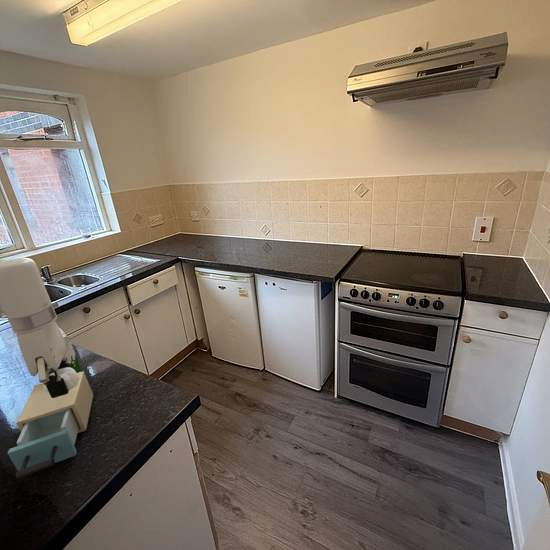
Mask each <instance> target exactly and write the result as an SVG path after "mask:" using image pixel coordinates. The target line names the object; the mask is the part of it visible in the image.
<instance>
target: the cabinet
mask: <svg viewBox="0 0 550 550" xmlns="http://www.w3.org/2000/svg"><path fill="white" fill-rule="evenodd" d="M77 374H78V376H79V382H78V384H77V385H76V386H75V387H74V388H72V389H71V390H69V392H68V394H66V395H62V396H59V397H56V398H51V396H50V394H49V393H47V392H45V391H44V390H43V385H44V383H39V384H35V385H33V388H32V390H31V392H30V394H29V396H28V398H27V400H26V402H25V404H24V407H23V409H22V410H21V412H20V414H19V416H18V418H17V421H16V423H15V424H16V425H17V427H18V428H19V430H20V433H21V432H22V430H23V428H24V425H25V423H26V422H29V421H32V420H35V419H39V418H42V417H45V416H48V415H51V414H54V413H57V412H60V411H63V410H66V409H69V408H72V409H73V411H74V414H75V416H76V418H77V420H78V423H79V428H78V433H77V434H80V433H82V432H85V431H87V428H88V423H89V417H90V414H91V413H90V412H91V409H92V408H91V407H92V404H93V399H94V393H93V390H92V388H91V386H90V383H89V380H88V378H87V377H86V373H85V371H84V370H82V372H79V373H77Z"/></svg>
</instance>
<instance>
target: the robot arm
mask: <svg viewBox="0 0 550 550" xmlns="http://www.w3.org/2000/svg"><path fill="white" fill-rule="evenodd" d="M0 306H1V308H2V310H3V313H4V315H5V317H6V319H7V322H8V323H9V326H10V327H11V330H12V332H13V333H14V334H16V339H17V343H18V347H19V350H20V353H21V355H22V358H23V361H24V364H25V367H26V369H27V370H28V373H29V375H30V376H31V377H36V376H38V382H39V384H42V383H44V385H45V386H46V387H47V389H48V391H49V394H50V396H51V398H56V397H59V396H62V395H66V394H68V392H69V390H68V388H67V386H66V383H65V381H64V379H63V378H61V377H60V373H59V369H62V368H66V367H68V368H70V365H69V363H67V362H68V360H67V357H66V356H65V354H64V353H65V350H66V345H65V341H64V339H63V336H62V334H61V332H60V329H61V328H60V327H59V326H58V323H57V322H56V320H57V319H58V315H57V313H56V311H55V307H54V306H53V302H52V300H51V298H50V295H49V293H48V291H47V288H46V286H45V283H44V280H43V278H42V275H41V272H40V270H39V268H38V265H37V263H36V262H35V261H34V260H33V259H31V258H29V257H17V258H16V257H15V258H10V259H6V258H5V259H4V258H0ZM59 328H60V329H59ZM49 366H50V367H52V368H49V369H47V367H49ZM52 371H53V372H54V374H55V376H54V375H49V374H48V373H49V372H52Z"/></svg>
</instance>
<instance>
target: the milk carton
mask: <svg viewBox="0 0 550 550" xmlns="http://www.w3.org/2000/svg"><path fill="white" fill-rule="evenodd" d="M59 329H60V332H61V334H62V336H63V339H64V341H65V345H66V350H65V353H64V354H65V356H66V357H67V360H68V362H67V363H69V365H70V368H72V369H74V370H75V371H76V373H79V372H82V371H83V370H82V366H81V364H80V362H79V359H78V356H77V354H76V352H75V349H74V347H73V344H72V343H71V340H70V338H69V336H68V335H67V334H66V333H65V331H63V330H62V329H61V328H60V327H59ZM49 368H52V367H50V366H49V367H47V369H49ZM52 373H54V372H53V371H52V372H49V373H48V374H49V375H50V374H52Z"/></svg>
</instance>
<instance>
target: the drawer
mask: <svg viewBox="0 0 550 550" xmlns="http://www.w3.org/2000/svg"><path fill="white" fill-rule="evenodd" d="M78 428H79V423H78V420H77V418H76V416H75V414H74V411H73V409H72V408H69V409H66V410H63V411H60V412H57V413H54V414H51V415H48V416H45V417H42V418H39V419H35V420H32V421H29V422H26V423H25V425H24V428H23V430H22V432H21V431H20V433H19V437H18V438H17V441H16V445H17V446H13V447H12V448H9V449H8V451H7V456H8V457H9V459H10V460H11V462H12V464H13V466H14V467H15V469H16V470H17V471H16V473H15V478H16V479H17V480H20V479H23V478H26V477H29V476H31V475H34V474H36V473H39V472H42V471H44V470H47V469H49V468H52V467H54V466H55V464H56V463H59V462H61V461H64V460H67V459H69V458H72V457H76V455H77V452H78V451H77V450H78V449H76V446H75V445H76V441H77V437H78V434H79V433H78Z"/></svg>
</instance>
